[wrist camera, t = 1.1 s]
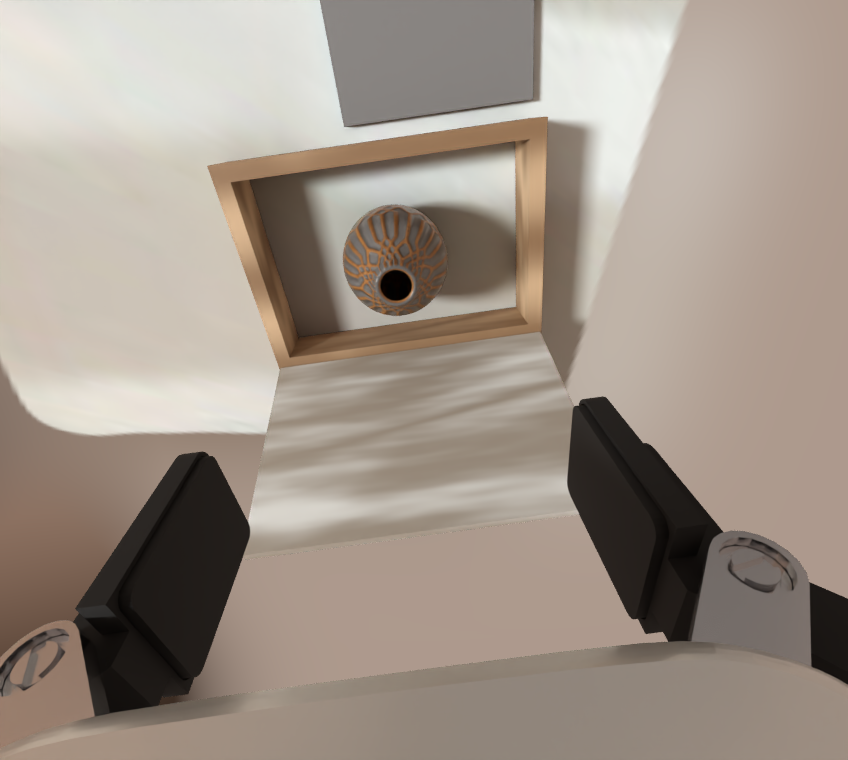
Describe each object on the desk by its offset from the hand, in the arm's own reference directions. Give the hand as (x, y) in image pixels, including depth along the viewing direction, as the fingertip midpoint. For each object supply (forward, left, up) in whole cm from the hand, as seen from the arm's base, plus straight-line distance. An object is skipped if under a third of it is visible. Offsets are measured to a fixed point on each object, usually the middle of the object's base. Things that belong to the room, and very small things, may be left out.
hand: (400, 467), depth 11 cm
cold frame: (+2, 0, -23) cm, 23 cm away
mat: (-14, +4, -23) cm, 27 cm away
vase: (0, 0, -23) cm, 23 cm away
